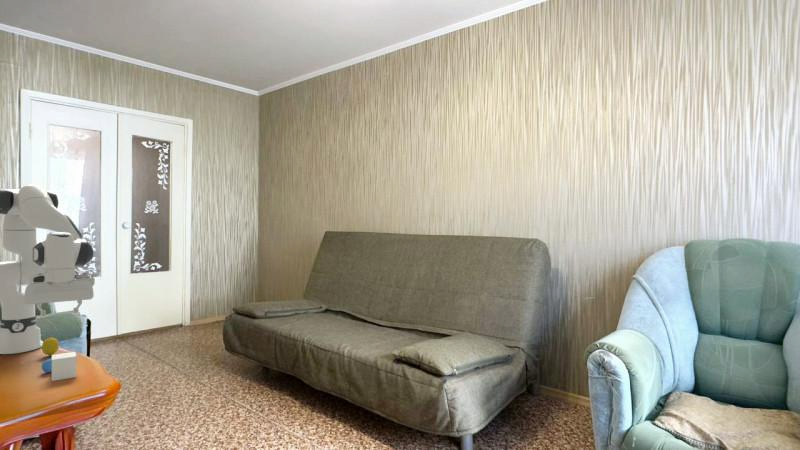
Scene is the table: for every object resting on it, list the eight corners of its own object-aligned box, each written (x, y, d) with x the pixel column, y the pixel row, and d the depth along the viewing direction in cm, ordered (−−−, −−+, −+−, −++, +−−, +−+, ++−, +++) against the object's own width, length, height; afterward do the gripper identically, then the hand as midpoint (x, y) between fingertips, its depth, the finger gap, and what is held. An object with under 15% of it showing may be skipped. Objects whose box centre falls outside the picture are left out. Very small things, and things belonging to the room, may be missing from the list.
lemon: (44, 358, 180) (44, 339, 180) (40, 356, 184) (40, 337, 184) (60, 355, 185) (60, 336, 185) (56, 353, 188) (56, 334, 188)
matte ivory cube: (51, 375, 161) (51, 354, 161) (75, 371, 166) (75, 351, 166) (51, 381, 156) (51, 359, 156) (76, 376, 160) (76, 356, 160)
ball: (41, 371, 165) (41, 358, 165) (58, 369, 168) (58, 356, 168) (41, 375, 161) (41, 362, 161) (58, 372, 164) (58, 359, 164)
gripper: (94, 273, 169) (93, 309, 169) (24, 277, 157) (24, 316, 156) (95, 275, 164) (95, 312, 164) (23, 278, 152) (23, 318, 151)
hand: (59, 314), depth 160 cm, fingers open, 8 cm apart
